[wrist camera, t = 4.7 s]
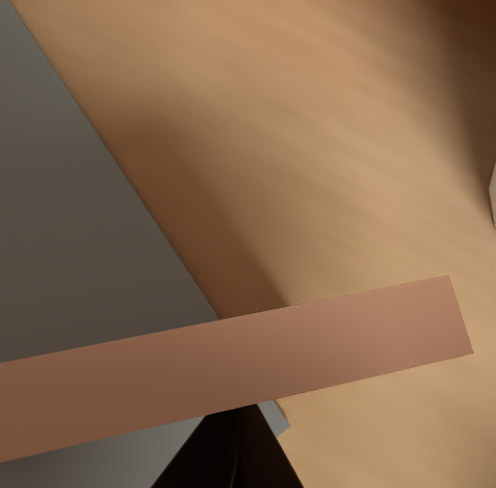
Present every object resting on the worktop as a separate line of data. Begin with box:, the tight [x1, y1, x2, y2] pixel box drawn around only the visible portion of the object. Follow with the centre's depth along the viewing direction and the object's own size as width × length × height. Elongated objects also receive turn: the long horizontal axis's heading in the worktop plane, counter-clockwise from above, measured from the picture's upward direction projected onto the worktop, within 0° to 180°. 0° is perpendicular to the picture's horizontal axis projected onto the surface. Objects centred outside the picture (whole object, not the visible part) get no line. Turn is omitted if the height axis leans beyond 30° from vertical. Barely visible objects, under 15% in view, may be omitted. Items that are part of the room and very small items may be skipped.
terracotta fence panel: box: [0, 275, 473, 463], centre depth 10 cm, size 16×1×9 cm, turn 102°
